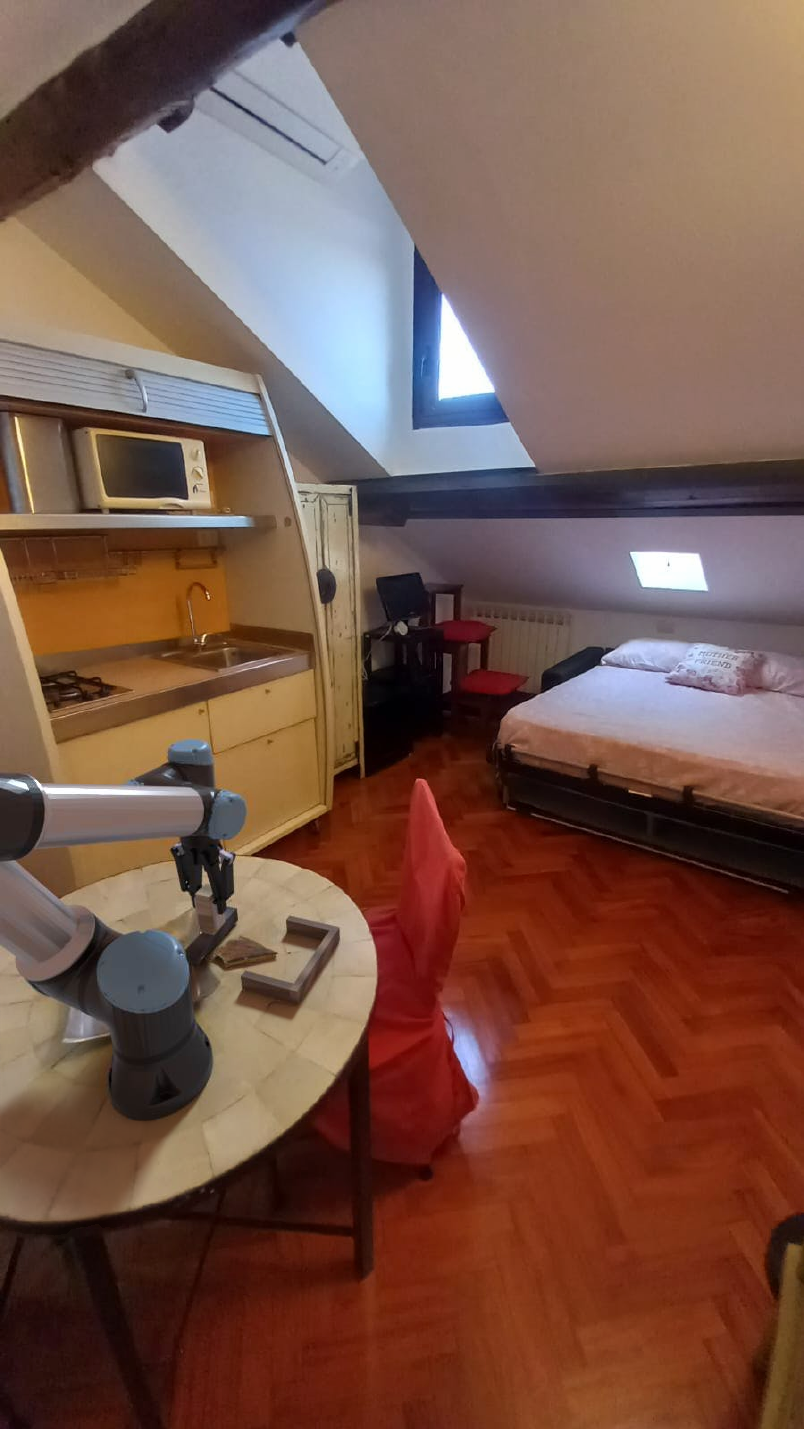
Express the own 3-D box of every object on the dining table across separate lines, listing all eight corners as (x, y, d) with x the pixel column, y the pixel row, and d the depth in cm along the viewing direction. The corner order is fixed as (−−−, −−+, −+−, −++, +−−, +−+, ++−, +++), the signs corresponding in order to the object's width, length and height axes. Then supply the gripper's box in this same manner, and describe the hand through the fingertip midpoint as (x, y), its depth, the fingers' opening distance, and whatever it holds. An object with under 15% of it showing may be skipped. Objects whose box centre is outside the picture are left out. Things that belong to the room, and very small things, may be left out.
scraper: (199, 965, 114) (191, 913, 110) (185, 961, 115) (177, 910, 111) (239, 920, 127) (234, 872, 123) (226, 917, 128) (221, 869, 124)
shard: (278, 958, 117) (278, 951, 117) (250, 983, 111) (249, 976, 111) (239, 939, 123) (238, 931, 122) (210, 962, 117) (209, 954, 116)
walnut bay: (298, 1005, 106) (297, 991, 105) (242, 989, 109) (240, 976, 108) (340, 939, 122) (339, 927, 121) (290, 927, 125) (289, 915, 124)
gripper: (247, 817, 113) (257, 920, 120) (175, 804, 118) (189, 904, 125) (224, 837, 106) (236, 944, 114) (149, 822, 111) (165, 926, 119)
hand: (211, 923), depth 120 cm, fingers closed on scraper, 3 cm apart
